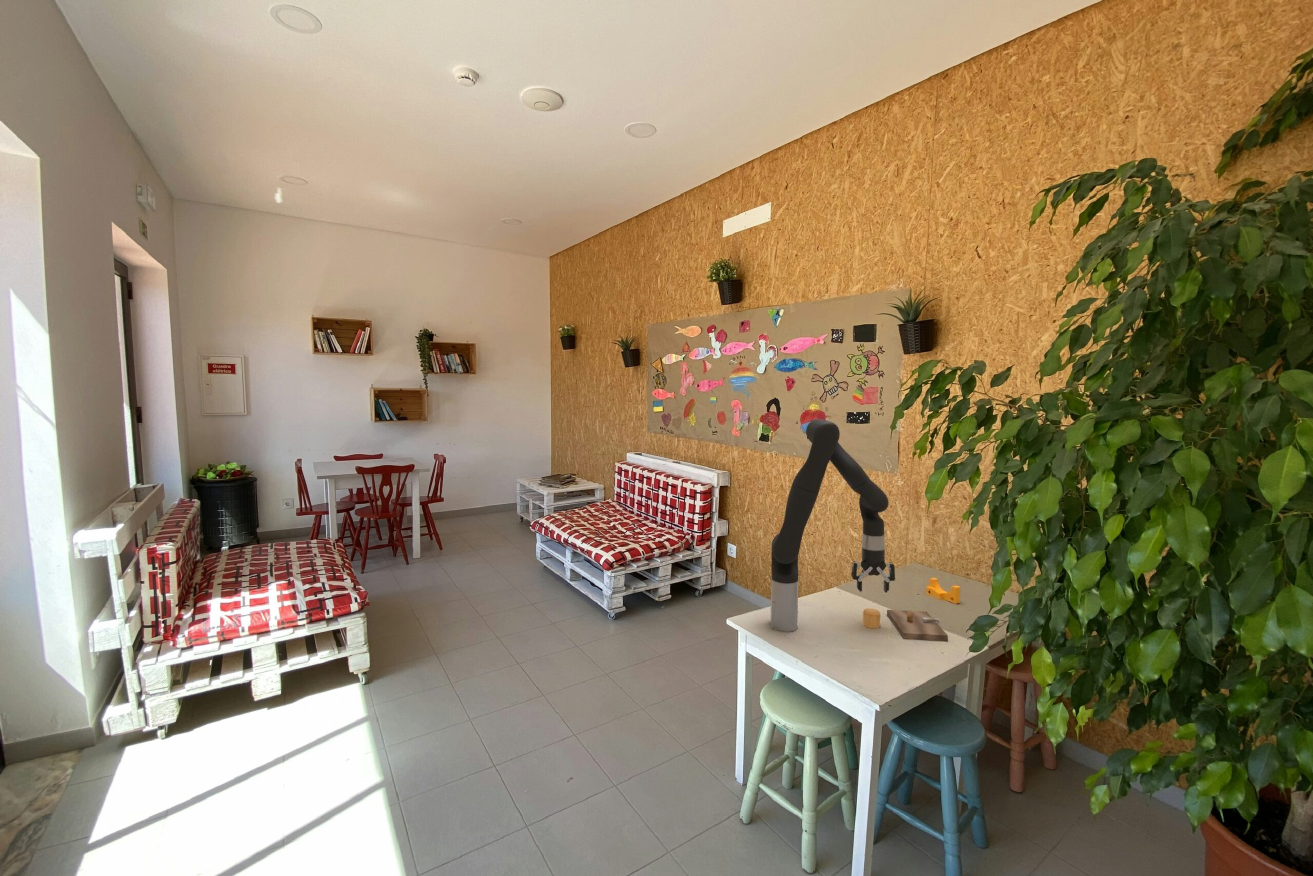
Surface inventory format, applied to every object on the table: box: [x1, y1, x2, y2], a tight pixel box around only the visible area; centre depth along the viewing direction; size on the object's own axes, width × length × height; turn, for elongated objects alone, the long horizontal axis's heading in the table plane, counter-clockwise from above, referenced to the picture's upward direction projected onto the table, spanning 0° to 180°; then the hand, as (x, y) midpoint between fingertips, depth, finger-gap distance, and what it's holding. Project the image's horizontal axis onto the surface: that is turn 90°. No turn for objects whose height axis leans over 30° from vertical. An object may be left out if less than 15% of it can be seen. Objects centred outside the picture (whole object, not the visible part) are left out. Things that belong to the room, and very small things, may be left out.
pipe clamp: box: [925, 577, 961, 605], centre depth 217 cm, size 12×4×6 cm, turn 23°
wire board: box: [886, 609, 949, 642], centre depth 190 cm, size 14×20×6 cm
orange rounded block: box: [862, 607, 881, 629], centre depth 192 cm, size 5×5×5 cm
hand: (872, 591), depth 191 cm, fingers open, 8 cm apart
